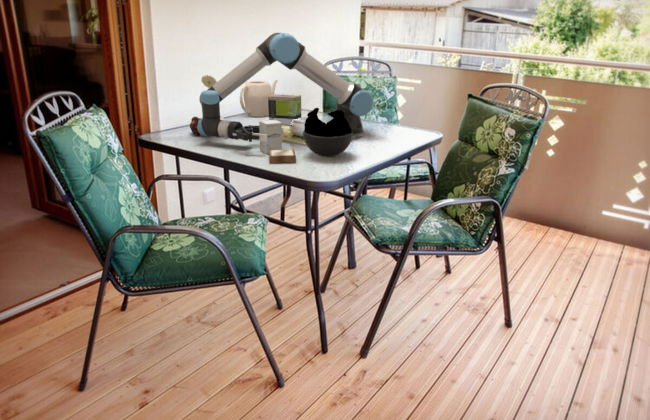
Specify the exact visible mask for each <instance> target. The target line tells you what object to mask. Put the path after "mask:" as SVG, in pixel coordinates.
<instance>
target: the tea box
mask: <svg viewBox="0 0 650 420" xmlns="http://www.w3.org/2000/svg"><path fill="white" fill-rule="evenodd" d="M268 111H269V114H268V120H277V121H279V122H281V123H282V126H291V125H290V124H291V122H292V120H293V119H298V118H301V119H302V95H301V94H300V95H299V94H284V93H282V94H280V93H278V94H277V93H274V95H271V96H268Z"/></svg>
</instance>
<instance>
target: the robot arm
mask: <svg viewBox="0 0 650 420" xmlns="http://www.w3.org/2000/svg"><path fill="white" fill-rule="evenodd" d="M276 62H279V63H280V64H281V65H283V66H284V67H286V68H287V69H289V71H291V70H296V71H298V72H299V73H301V75H303V76H305V77H306V78H307V79H309V80H310V81H311V82H313V83H314V84H316V85H317V86H319V87H320V88H321V89H322V90H324V91H326V93H328V94H330V95H332V96H333V97H334V98H336V105H335V106H336V108H335V110H342V111H343V112H344V114H345V118H346V119H347V121H348V123H349V126H350V127H351V130H352V132H353V134H359V133H362V132H363V131H364V127H363V122H362V118H361V117H363V116H366V115H367V114H369V113H370V112H371V111H372V109H373V107H374V97H373V95H372V94H371V92H369V91H368V90H365V89H363V88H362V85H361V83H355V82H354V81H349V82H348V81H347V80H345V79H344V78H343V77H341V76H340V75H338V74H336V72H334V71H333V70H332V69H330V68H329V67H327V66H326V65H324V64H323V63H322V62H321V61H320V60H318V59H316V58H315V57H314V56H312V55H311V54H310V53H308V52H307V50H306V46H305V45H303V44H302V43H301V42H300V41H298V40H297V39H296V37H295V36H293V35H292V34H290V33H286V32H274V33H272V34H270V35H269V36H268V37H267V38H266V39H265V40H264V41H263V42H261V44H259V45H258V46H257V47H256V48H255V51H254V52H253V53H252V54H251V55H249V56H248V57H247V58H246V59H244V60H242V62H240V63H239V64H238V65H236V67H234V68H233V69H231V70H230V71H229V72H228V73H226V74H225V75H224V76H223V77H222V78H220V79H219V80H218V81H217V83H215V84H214V85H213V86H212V87H210V88H207V90H206V89H205V90H202V91H201V92H200V95H199V100H198V101H199V103H200V107H201V111H202V118H201V119H200V120H199V121H198V125H197V129H198V132H199V133H200V136H206V137H210V138H211V137H212V138H213V137H214V138H223V139H225V140H228V139H231V140H236V141H237V140H242V141H246V142H248V141H249V143H252V142H253V141H256V142H257V141H258V142H260V141H266V142H267V141H268V135H266V134H260V133H259V125H251V124H250V125H249V124H248V125H243V123H242V122H241V121H235V120H226V119H225V120H220V116H221V110H220V109H221V105H220V103H221V102H222V101H223V100H224V99H226V98H227V97H228V96H230V94H231V95H232V93H233V92H234V91H236V90H237V89H239V88H240V87H241V86H242V85H244V84H246V82H248V80H250V79H251V78H253V76H255V75H256V74H257V73H259V72H260V71H262V69H263V68H265V67H266V66H269V67H270V66H272V65H273V64H275V63H276ZM283 135H284V128H283V127H282V136H283Z"/></svg>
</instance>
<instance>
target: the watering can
mask: <svg viewBox="0 0 650 420" xmlns="http://www.w3.org/2000/svg"><path fill="white" fill-rule="evenodd" d="M277 83H278V80H277V79H275V80H274V81H273V82H272V84H270V83H269V82H268V81H266V80H250V81H248V80H247V81H246V82H245V83H244V84H243V86H242V87H241V88H240V93H239V104H240V107H241V108H242V110H243V112H244V113H246V114H247V116H248V117H251V118H252V117H253V118H263V117H269V111H268V96H271V95H274V94H275V89H276V86H277Z"/></svg>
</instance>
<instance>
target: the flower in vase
mask: <svg viewBox="0 0 650 420" xmlns="http://www.w3.org/2000/svg"><path fill="white" fill-rule="evenodd" d="M217 82H218V81H217V80H216V78H215V77H214V76H211V75H208V74H207V75H206V74H205V75H203V76H202V77H201V83H202V84H203V86H204V87H206V88H207V89H209V88H210V87H212V86H213V85H214V84H215V83H217ZM220 120H226V119H225V117H223V116H222V115H220Z"/></svg>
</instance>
